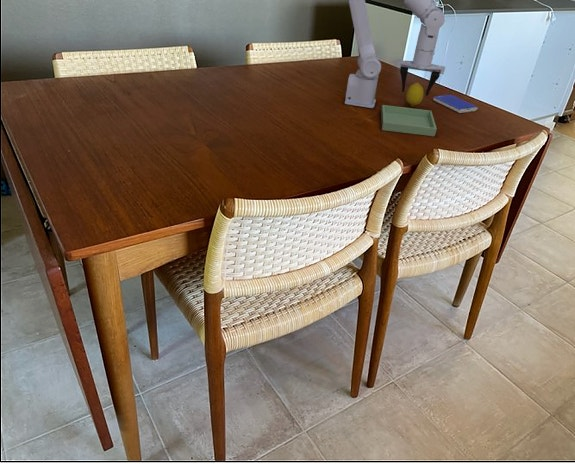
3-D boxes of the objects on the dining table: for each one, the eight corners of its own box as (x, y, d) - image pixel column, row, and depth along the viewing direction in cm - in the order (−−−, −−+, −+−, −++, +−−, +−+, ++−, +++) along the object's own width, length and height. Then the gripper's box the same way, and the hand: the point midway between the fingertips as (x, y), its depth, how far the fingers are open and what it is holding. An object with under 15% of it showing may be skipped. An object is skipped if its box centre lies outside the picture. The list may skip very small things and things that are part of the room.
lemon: (422, 106, 156) (427, 82, 151) (418, 111, 152) (424, 86, 147) (405, 102, 158) (410, 79, 153) (401, 107, 153) (407, 83, 149)
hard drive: (433, 96, 161) (460, 108, 152) (451, 94, 164) (478, 106, 155) (432, 100, 161) (458, 113, 153) (450, 98, 165) (476, 110, 156)
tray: (381, 130, 136) (383, 122, 135) (381, 112, 148) (382, 104, 147) (434, 136, 135) (436, 128, 133) (429, 117, 147) (431, 110, 146)
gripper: (400, 48, 142) (391, 93, 150) (449, 55, 140) (437, 100, 148) (401, 44, 148) (393, 86, 156) (448, 50, 146) (437, 93, 153)
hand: (414, 92), depth 152 cm, fingers open, 7 cm apart
